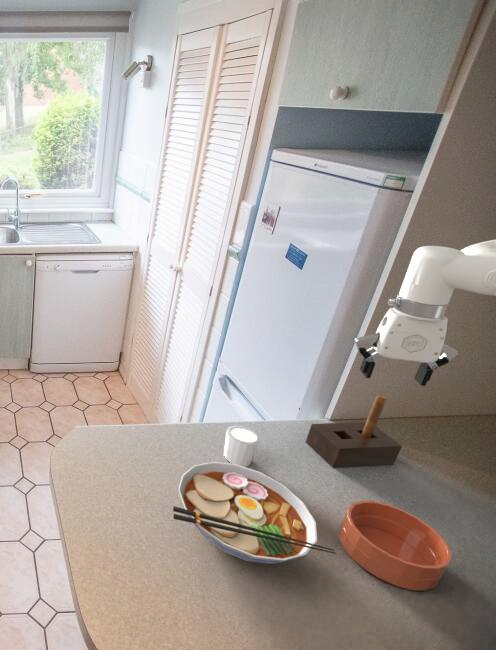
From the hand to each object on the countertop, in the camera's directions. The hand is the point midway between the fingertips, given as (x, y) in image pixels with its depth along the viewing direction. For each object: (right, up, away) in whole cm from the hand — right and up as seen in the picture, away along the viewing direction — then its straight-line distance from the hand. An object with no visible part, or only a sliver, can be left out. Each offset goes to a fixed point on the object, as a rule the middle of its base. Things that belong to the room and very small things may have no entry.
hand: (391, 378), depth 99 cm
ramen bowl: (-41, -28, -12) cm, 51 cm away
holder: (-3, -19, +8) cm, 21 cm away
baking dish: (-16, -30, -17) cm, 38 cm away
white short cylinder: (-30, -20, +7) cm, 37 cm away
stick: (0, -19, +8) cm, 21 cm away
